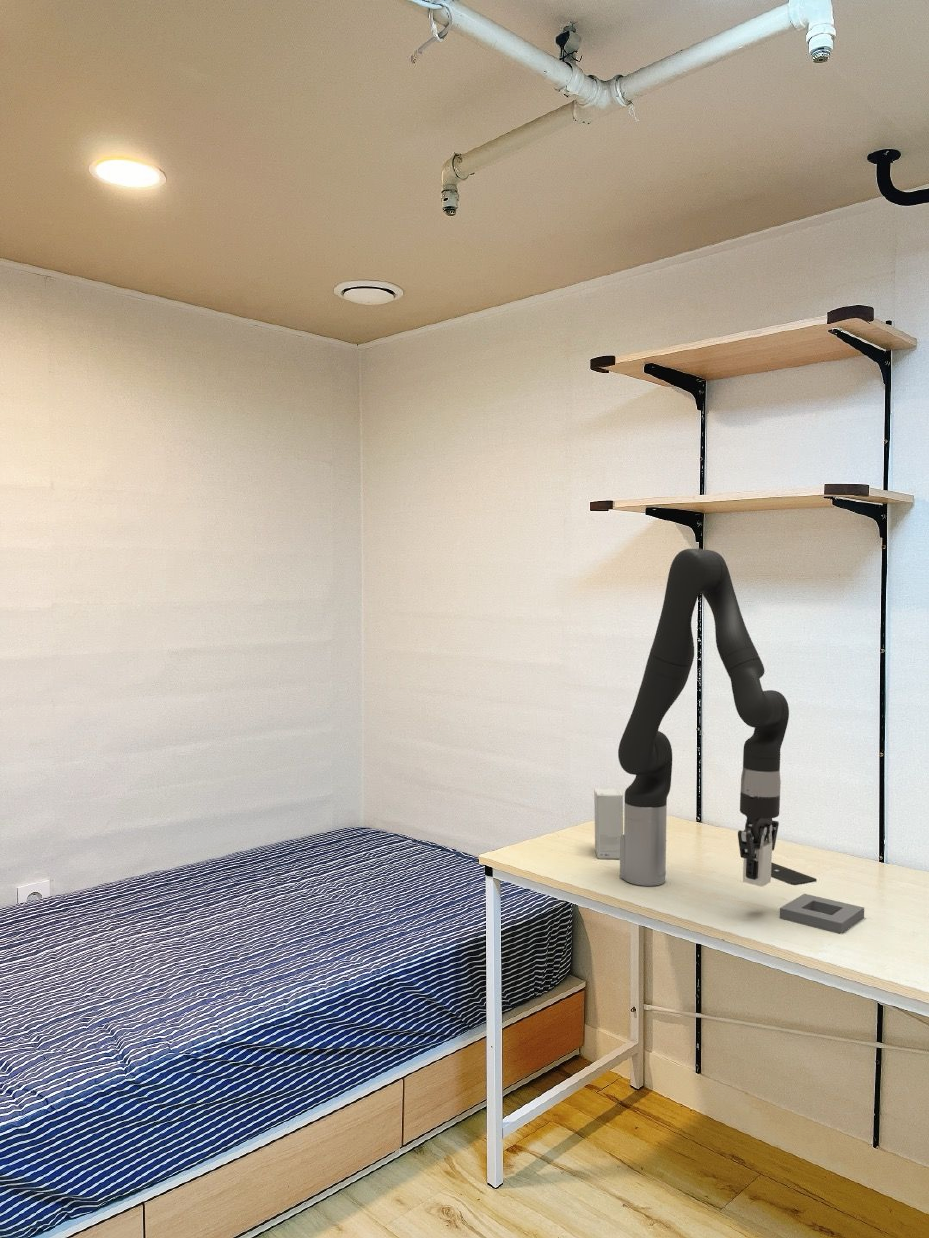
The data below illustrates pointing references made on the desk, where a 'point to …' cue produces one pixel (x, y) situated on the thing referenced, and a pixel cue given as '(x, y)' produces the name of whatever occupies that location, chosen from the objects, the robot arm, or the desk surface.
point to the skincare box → (608, 822)
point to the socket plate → (836, 921)
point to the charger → (761, 866)
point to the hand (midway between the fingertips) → (756, 875)
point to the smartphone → (789, 875)
